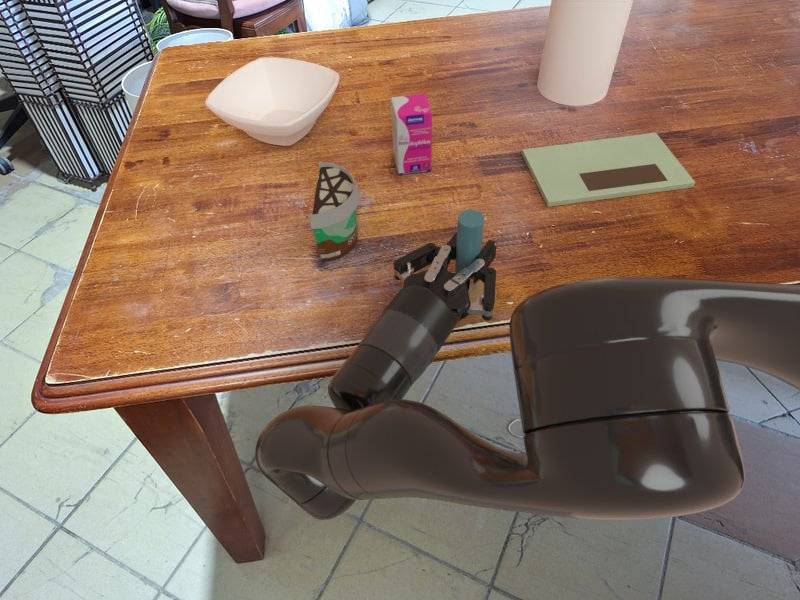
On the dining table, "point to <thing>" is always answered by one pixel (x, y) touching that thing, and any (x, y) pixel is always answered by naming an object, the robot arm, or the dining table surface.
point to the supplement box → (411, 133)
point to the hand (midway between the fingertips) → (478, 240)
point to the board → (605, 169)
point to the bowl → (274, 98)
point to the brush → (469, 245)
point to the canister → (581, 49)
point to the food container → (335, 212)
